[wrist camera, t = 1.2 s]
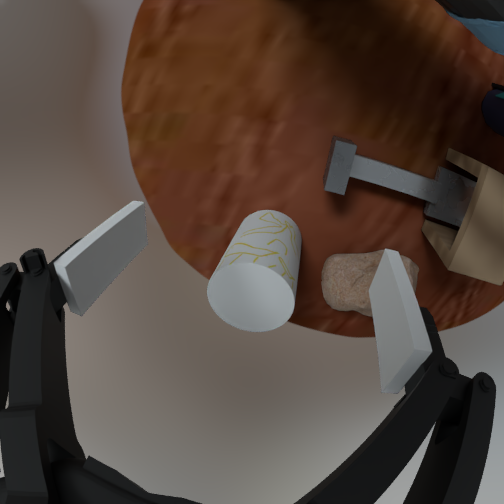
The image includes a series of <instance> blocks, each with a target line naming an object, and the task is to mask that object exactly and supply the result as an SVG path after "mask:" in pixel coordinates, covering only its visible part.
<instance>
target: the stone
mask: <svg viewBox="0 0 504 504" xmlns="http://www.w3.org/2000/svg"><path fill="white" fill-rule="evenodd" d="M383 253H384V250H379V251H375V252H369V253H359V254H355V253H353V254H333V255H332V256H330V257H329V258H327V260H326V261H325V263H324V267H323V270H322V283H321V284H322V291H323V296H324V299H325V300H326V303H327V304H329V305H330V306H331V308H333V309H337V310H338V311H350V310H354V311H357V312H359V313H361V314H363V315H366V316H371V317H373V314H372V308H371V302H370V296H369V288H370V286H371V283H372V281H373V279H374V276H375V274H376V271H377V269H378V266H379V264H380V261H381V258H382V256H383ZM400 257H401V260H402V262H403V265H404V267H405V270H406V272H407V275H408V277H409V280H410V283H411V285H412V288H413V291H414V294H415V291H416V285H417V278H418V277H417V274H418V271H419V268H418V266H417V265H416V264H415V263H414V262H412V260H411V259H409V258H407V257H405V256H403V255H402V256H401V255H400Z"/></svg>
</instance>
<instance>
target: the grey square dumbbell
mask: <svg viewBox="0 0 504 504" xmlns="http://www.w3.org/2000/svg"><path fill="white" fill-rule="evenodd" d="M356 148H357V145H356V144H354V143H353V142H352V141H351V140H348V139H344V138H340V137H336V136H333V138H332V143H331V147H330V151H329V156H328V160H327V164H326V169H325V173H324V177H323V184H324V190H326V191H330V192H334V193H338V194H342V195H344V194H345V190H346V187H347V183H348V179H349V176H350V177H354V178H357V179H361V180H364V181H368V182H371V183H374V184H378V185H381V186H384V187H388V188H391V189H394V190H397V191H400V192H403V193H406V194H409V195H412V196H415V197H418V198H421V199H424V200H426V201H427V203H426V205H425V208H424V211H423V212H424V213H425V214H426V215H428V216H431V217H433V218H436V219H439V220H442V221H445V222H448V223H450V224H453V225H456V226H458V227H461V224H462V222H463V219H464V217H465V214H466V212H467V209H468V206H469V204H470V201H471V198H472V195H473V192H474V189H475V187H476V184H477V182H474V181H472V180H470V179H468V178H466V177H464V176H462V175H460V174H457V173H455V172H453V171H451V170H448V169H446V168H444V167H441V166H438V169H437V172H436V176H435V179H434V180H433V179H430V178H428V177H425V176H422V175H420V174H417V173H414V172H411V171H409V170H406V169H403V168H400V167H397V166H394V165H391V164H388V163H385V162H382V161H379V160H375V159H372V158H369V157H365V156H362V155H359V154H355V152H356Z"/></svg>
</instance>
